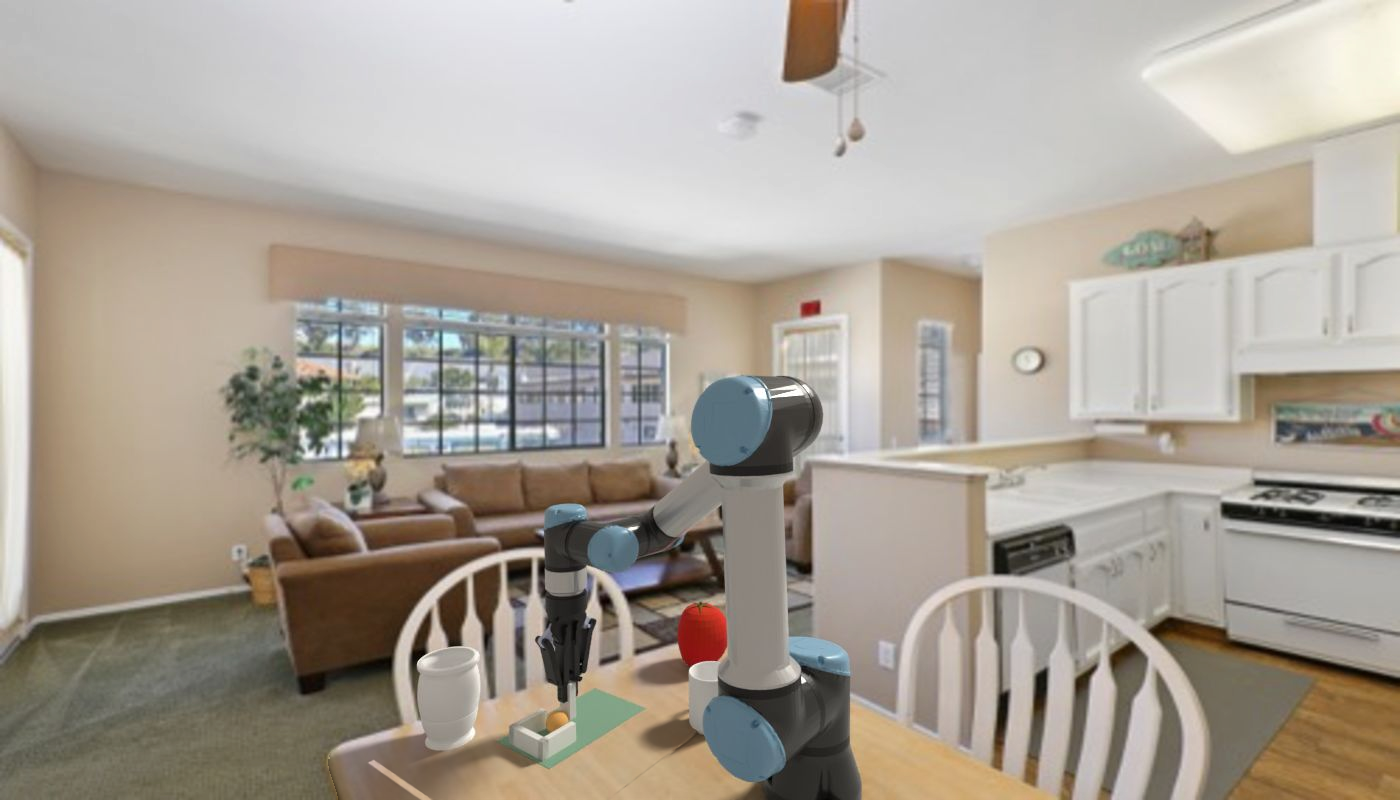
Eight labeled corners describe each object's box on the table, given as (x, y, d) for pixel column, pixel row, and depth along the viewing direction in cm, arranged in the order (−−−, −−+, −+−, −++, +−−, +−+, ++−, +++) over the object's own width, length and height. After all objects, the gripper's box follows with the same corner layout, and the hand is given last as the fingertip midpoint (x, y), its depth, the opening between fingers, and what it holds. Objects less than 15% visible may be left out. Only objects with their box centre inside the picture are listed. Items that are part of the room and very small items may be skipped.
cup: (688, 736, 115) (688, 681, 115) (689, 703, 127) (689, 653, 127) (734, 736, 115) (734, 681, 115) (731, 703, 127) (731, 652, 127)
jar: (456, 718, 122) (454, 641, 122) (493, 733, 117) (492, 652, 116) (405, 746, 113) (403, 662, 113) (444, 764, 108) (442, 676, 107)
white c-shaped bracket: (576, 741, 113) (575, 723, 113) (543, 761, 107) (542, 742, 107) (542, 725, 119) (542, 708, 118) (509, 743, 113) (509, 725, 113)
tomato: (708, 648, 153) (707, 590, 153) (740, 664, 144) (740, 602, 144) (665, 664, 145) (665, 602, 145) (697, 682, 136) (697, 616, 136)
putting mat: (646, 711, 124) (645, 708, 124) (549, 772, 105) (549, 768, 105) (595, 690, 133) (595, 688, 133) (496, 744, 113) (496, 741, 113)
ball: (553, 739, 113) (569, 737, 116) (559, 715, 113) (575, 713, 116) (538, 731, 115) (554, 729, 118) (544, 708, 116) (560, 706, 119)
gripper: (578, 576, 124) (580, 696, 125) (524, 595, 114) (526, 725, 115) (606, 584, 120) (608, 707, 121) (551, 604, 110) (554, 739, 110)
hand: (568, 716), depth 118 cm, fingers closed
